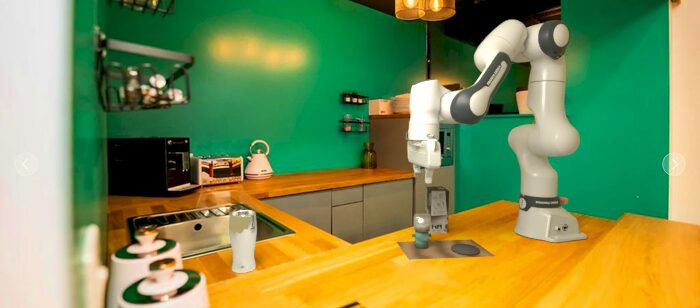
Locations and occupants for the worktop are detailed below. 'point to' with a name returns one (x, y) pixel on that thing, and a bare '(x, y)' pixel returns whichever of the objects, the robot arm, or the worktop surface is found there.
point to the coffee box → (437, 208)
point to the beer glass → (243, 240)
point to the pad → (465, 249)
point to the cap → (422, 222)
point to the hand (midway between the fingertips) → (422, 180)
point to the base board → (436, 248)
